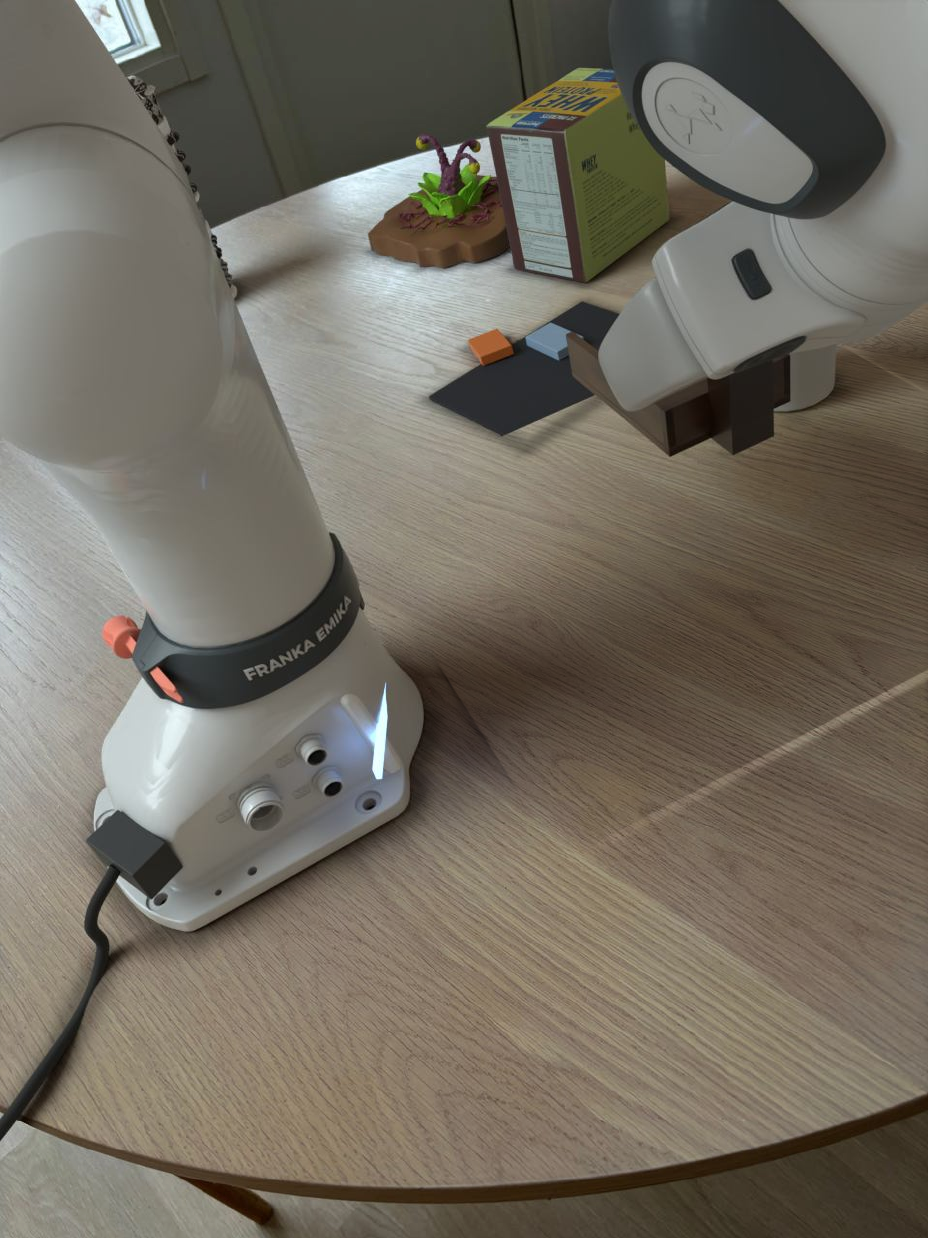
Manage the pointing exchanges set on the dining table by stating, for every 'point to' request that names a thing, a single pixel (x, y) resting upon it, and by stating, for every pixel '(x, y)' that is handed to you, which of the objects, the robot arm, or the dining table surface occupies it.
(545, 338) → the light blue flat block
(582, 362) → the brown wooden stand
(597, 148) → the protein box
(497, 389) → the mat
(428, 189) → the plant
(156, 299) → the robot arm
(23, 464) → the dining table surface
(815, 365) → the can
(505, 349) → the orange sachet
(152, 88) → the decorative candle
